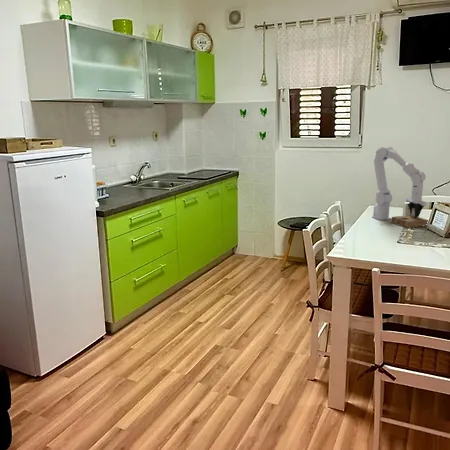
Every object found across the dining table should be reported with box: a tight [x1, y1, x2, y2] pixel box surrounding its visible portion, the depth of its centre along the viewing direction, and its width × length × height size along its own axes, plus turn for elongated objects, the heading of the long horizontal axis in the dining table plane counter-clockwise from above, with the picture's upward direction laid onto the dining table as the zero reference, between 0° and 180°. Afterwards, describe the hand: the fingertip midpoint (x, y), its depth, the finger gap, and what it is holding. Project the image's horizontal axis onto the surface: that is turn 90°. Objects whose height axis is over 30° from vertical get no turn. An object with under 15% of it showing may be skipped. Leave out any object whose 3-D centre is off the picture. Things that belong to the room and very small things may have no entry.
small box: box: [402, 201, 411, 216], centre depth 266 cm, size 8×6×10 cm
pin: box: [411, 208, 417, 219], centre depth 255 cm, size 3×3×8 cm
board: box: [390, 215, 429, 229], centre depth 255 cm, size 14×14×4 cm
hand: (414, 215), depth 255 cm, fingers closed on pin, 3 cm apart
